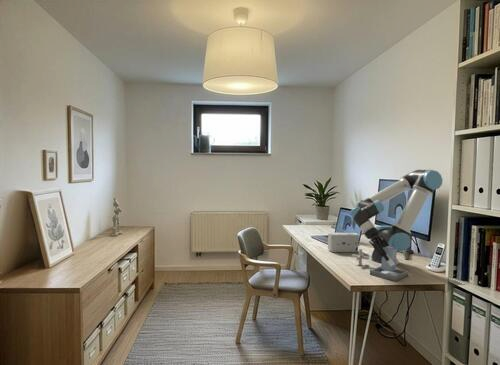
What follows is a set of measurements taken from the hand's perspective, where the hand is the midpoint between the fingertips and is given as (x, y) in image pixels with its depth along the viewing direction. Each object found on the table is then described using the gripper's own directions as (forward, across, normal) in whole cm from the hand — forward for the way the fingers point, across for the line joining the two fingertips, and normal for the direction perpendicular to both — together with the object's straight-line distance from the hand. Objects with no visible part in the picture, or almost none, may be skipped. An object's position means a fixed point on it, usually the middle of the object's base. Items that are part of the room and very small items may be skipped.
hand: (395, 264), depth 185 cm
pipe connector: (-12, -5, -23) cm, 26 cm away
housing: (+3, 0, -8) cm, 8 cm away
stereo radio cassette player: (-30, -26, -41) cm, 57 cm away
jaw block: (0, 0, -5) cm, 5 cm away
